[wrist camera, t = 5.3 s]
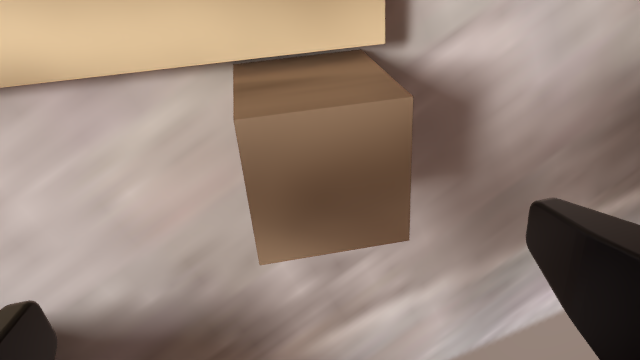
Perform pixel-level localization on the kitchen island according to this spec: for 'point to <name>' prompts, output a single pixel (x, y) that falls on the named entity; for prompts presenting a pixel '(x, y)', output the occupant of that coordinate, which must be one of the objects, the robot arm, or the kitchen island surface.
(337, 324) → the kitchen island surface
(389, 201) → the block
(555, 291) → the robot arm
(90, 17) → the plank
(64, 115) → the kitchen island surface
